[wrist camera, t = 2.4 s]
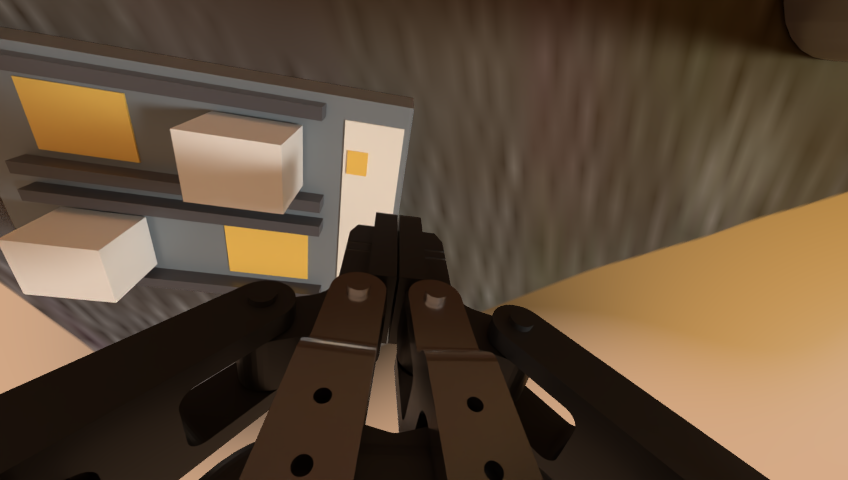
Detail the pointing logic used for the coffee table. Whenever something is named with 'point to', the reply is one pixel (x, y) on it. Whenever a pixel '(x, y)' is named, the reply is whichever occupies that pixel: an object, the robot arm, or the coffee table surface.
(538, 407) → the robot arm
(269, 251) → the switch panel
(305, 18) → the coffee table surface
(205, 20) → the coffee table surface
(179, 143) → the switch
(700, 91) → the coffee table surface
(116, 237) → the switch
